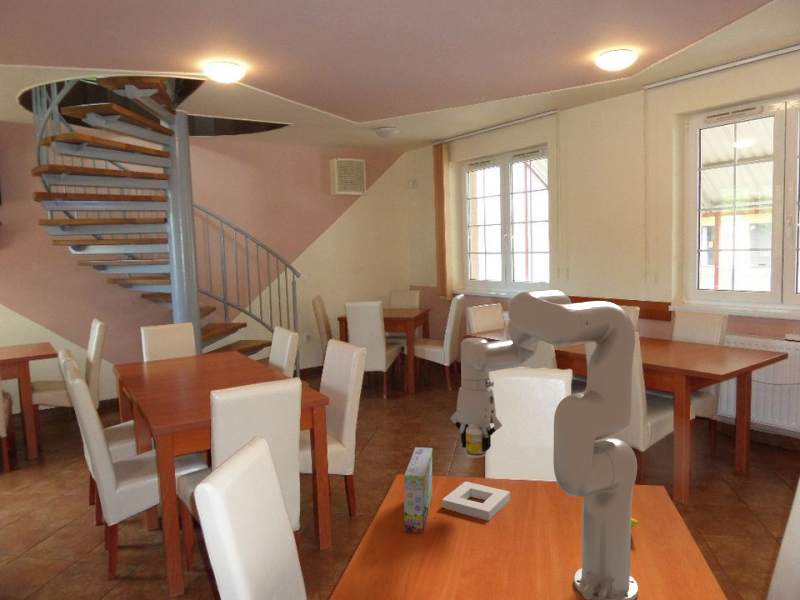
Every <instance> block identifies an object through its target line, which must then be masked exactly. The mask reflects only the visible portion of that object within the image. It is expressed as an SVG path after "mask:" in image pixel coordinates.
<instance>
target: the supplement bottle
mask: <svg viewBox="0 0 800 600" xmlns="http://www.w3.org/2000/svg"><path fill="white" fill-rule="evenodd" d="M483 437H484V434H483V430H482V427H480V426H476V425H474V424H469V426H468V427H467V428H466V447H465V451H466V452H465V454H466V455H467V456H468V457H470V458H474V459H475V458H483V457H485V456H486V454H487V451H486V452H483V451H482V438H483Z"/></svg>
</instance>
